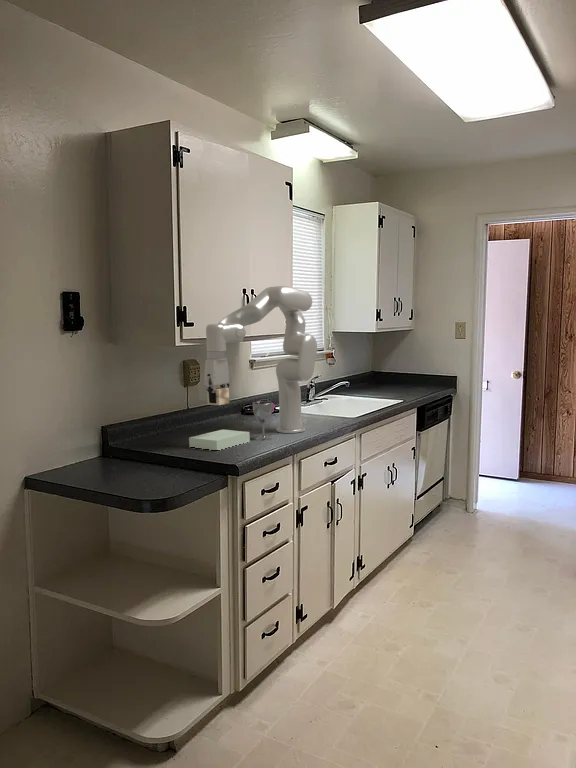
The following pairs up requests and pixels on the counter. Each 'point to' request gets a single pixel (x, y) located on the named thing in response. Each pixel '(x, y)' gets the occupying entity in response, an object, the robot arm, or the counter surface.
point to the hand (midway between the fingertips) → (218, 401)
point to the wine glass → (262, 415)
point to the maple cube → (220, 396)
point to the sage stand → (219, 439)
